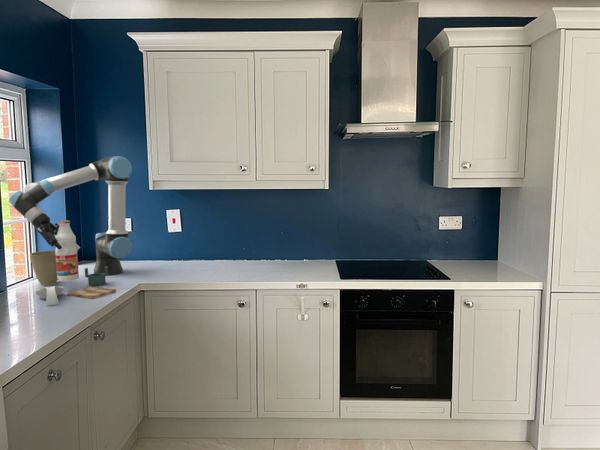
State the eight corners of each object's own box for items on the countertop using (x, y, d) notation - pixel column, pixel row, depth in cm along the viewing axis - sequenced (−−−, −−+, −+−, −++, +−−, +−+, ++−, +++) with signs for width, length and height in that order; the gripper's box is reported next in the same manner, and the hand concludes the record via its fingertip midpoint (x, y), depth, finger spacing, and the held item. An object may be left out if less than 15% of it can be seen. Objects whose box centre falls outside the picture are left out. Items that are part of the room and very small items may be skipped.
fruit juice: (82, 276, 235) (78, 219, 232) (72, 281, 226) (68, 221, 222) (63, 276, 235) (59, 219, 232) (53, 281, 226) (48, 222, 223)
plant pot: (27, 284, 245) (24, 253, 243) (57, 279, 256) (55, 249, 254) (38, 288, 235) (36, 256, 233) (69, 283, 246) (67, 252, 244)
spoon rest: (34, 296, 222) (33, 280, 221) (63, 292, 228) (62, 277, 227) (37, 308, 202) (36, 291, 201) (68, 304, 208) (67, 287, 207)
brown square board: (92, 288, 234) (92, 286, 234) (115, 291, 228) (115, 289, 228) (68, 295, 221) (67, 293, 221) (92, 299, 215) (91, 296, 215)
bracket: (83, 285, 241) (82, 268, 240) (99, 281, 249) (98, 264, 248) (96, 287, 237) (95, 269, 236) (111, 283, 245) (110, 266, 244)
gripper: (46, 221, 239) (79, 252, 240) (18, 226, 218) (54, 261, 218) (56, 210, 238) (89, 242, 239) (28, 215, 217) (64, 249, 217)
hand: (72, 251), depth 229 cm, fingers closed on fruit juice, 9 cm apart
